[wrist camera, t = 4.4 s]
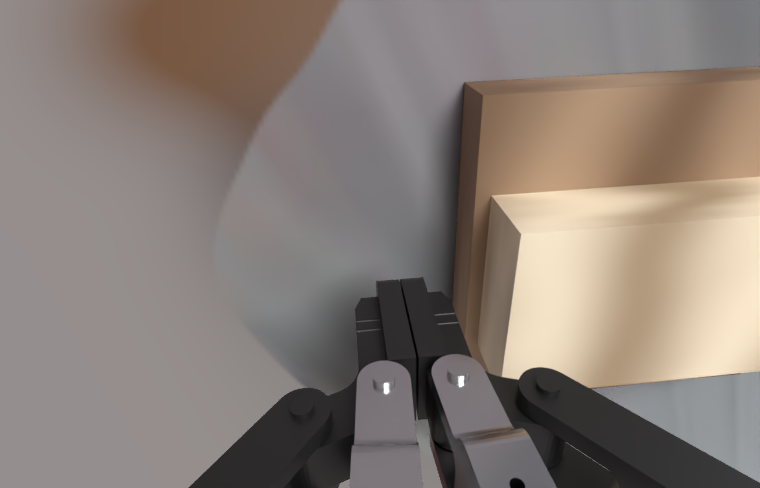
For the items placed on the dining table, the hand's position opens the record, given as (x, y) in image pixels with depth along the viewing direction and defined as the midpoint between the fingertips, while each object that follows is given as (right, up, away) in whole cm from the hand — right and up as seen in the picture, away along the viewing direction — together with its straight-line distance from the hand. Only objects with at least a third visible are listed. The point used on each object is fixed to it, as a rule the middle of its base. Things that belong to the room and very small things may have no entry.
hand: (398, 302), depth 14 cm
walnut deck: (+8, +2, +3) cm, 9 cm away
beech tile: (+7, +1, +1) cm, 8 cm away
